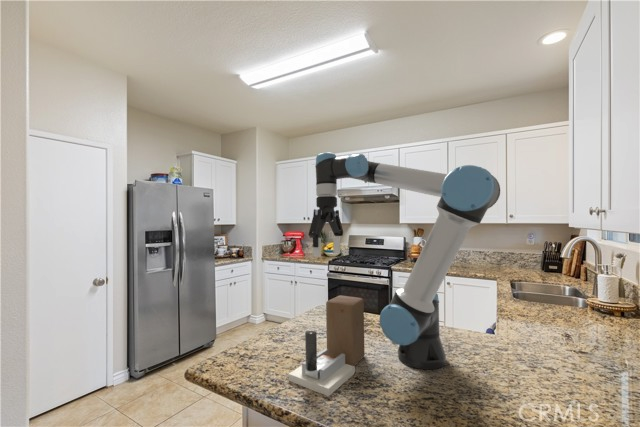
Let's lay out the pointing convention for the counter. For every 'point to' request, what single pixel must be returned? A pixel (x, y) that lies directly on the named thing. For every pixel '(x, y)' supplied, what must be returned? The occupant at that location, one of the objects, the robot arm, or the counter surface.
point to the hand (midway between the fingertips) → (327, 255)
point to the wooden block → (345, 328)
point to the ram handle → (314, 356)
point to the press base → (324, 375)
